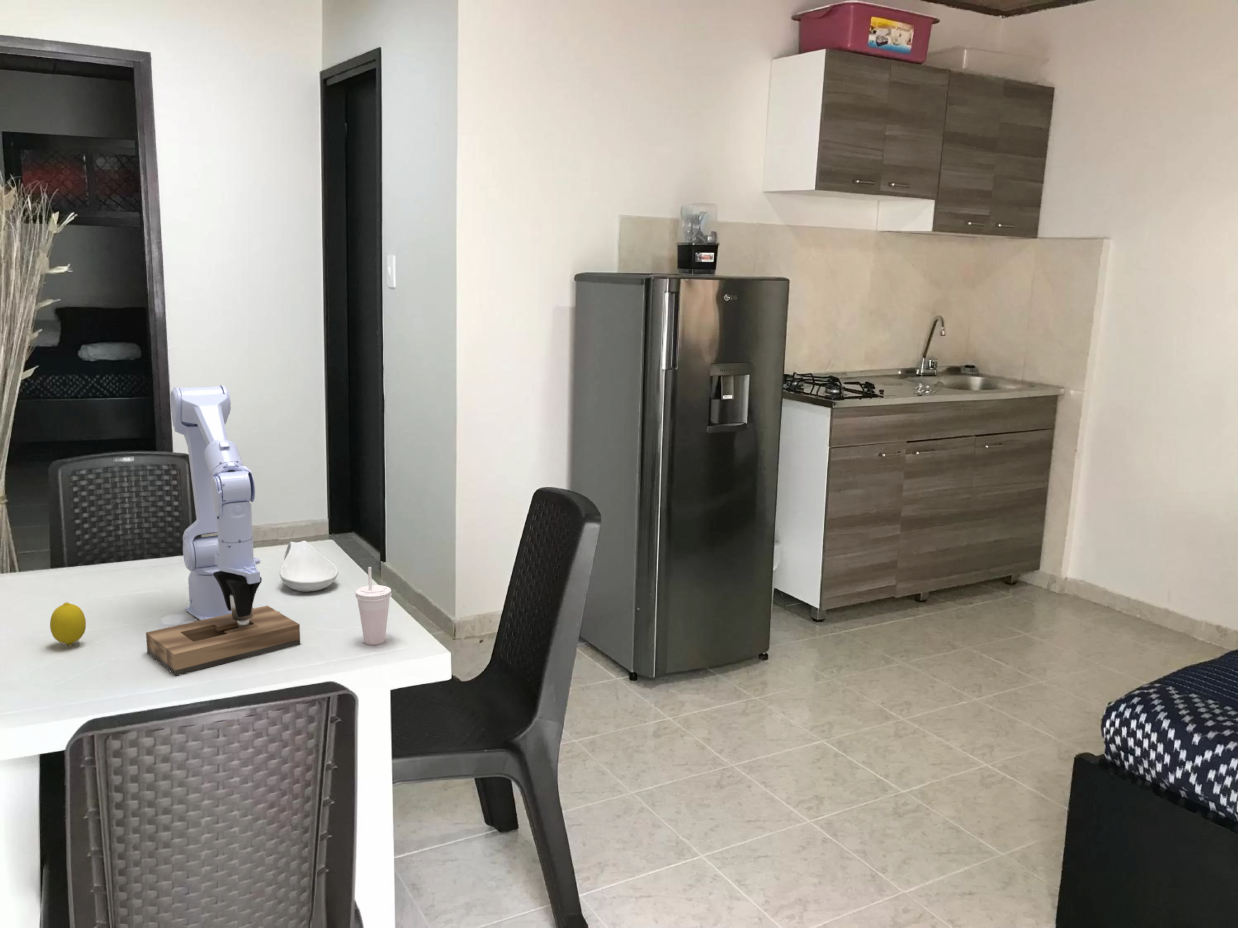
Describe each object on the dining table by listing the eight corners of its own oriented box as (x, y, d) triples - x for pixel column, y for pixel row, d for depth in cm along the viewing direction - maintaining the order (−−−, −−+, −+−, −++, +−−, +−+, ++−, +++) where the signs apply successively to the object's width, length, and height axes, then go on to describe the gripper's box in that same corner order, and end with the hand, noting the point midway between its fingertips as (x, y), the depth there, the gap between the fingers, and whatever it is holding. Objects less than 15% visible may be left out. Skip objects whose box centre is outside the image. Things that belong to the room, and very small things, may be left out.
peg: (226, 637, 183) (221, 593, 181) (252, 630, 186) (247, 586, 184) (237, 645, 179) (232, 600, 177) (263, 637, 183) (259, 593, 181)
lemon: (72, 652, 177) (68, 609, 175) (44, 649, 178) (40, 606, 176) (94, 641, 182) (91, 598, 180) (67, 638, 183) (63, 596, 182)
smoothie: (359, 634, 189) (357, 562, 186) (394, 634, 189) (393, 562, 186) (353, 647, 182) (351, 572, 180) (390, 647, 183) (388, 572, 180)
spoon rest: (344, 593, 212) (343, 560, 211) (286, 600, 207) (284, 566, 205) (319, 562, 233) (318, 532, 231) (266, 568, 227) (264, 537, 226)
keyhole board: (147, 652, 178) (145, 632, 177) (268, 624, 192) (267, 605, 192) (175, 675, 168) (174, 654, 168) (300, 644, 183) (299, 624, 182)
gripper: (275, 543, 176) (278, 618, 179) (240, 526, 186) (243, 597, 189) (235, 550, 171) (239, 627, 174) (201, 532, 182) (205, 605, 184)
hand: (239, 612), depth 181 cm, fingers closed on peg, 4 cm apart
